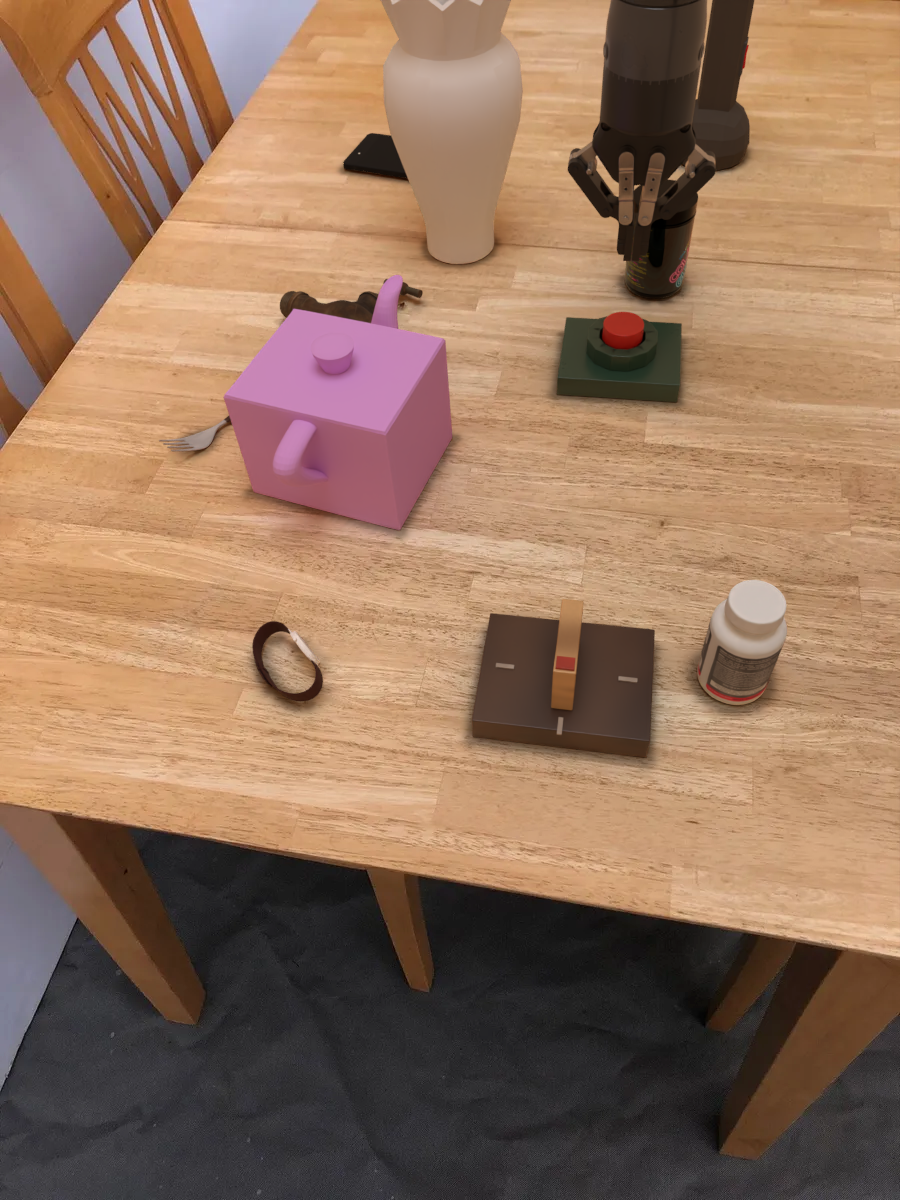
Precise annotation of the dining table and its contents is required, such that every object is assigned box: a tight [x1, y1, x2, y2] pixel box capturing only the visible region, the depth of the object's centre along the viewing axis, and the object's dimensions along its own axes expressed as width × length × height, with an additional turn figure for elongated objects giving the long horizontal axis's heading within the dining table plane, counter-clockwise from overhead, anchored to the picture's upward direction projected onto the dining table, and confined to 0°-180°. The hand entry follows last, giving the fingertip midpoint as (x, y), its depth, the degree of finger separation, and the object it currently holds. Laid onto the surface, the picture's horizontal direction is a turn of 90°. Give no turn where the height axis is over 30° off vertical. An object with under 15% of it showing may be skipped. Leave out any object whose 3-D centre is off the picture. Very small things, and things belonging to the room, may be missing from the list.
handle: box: [551, 598, 585, 710], centre depth 68 cm, size 6×2×5 cm, turn 170°
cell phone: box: [342, 132, 408, 180], centre depth 123 cm, size 9×18×1 cm, turn 68°
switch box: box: [556, 315, 683, 403], centre depth 94 cm, size 12×10×4 cm
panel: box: [471, 612, 656, 758], centre depth 71 cm, size 13×11×3 cm
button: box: [602, 311, 644, 350], centre depth 92 cm, size 4×4×2 cm
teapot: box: [223, 274, 453, 531], centre depth 84 cm, size 15×25×14 cm, turn 158°
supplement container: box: [623, 179, 699, 300], centre depth 100 cm, size 7×7×10 cm
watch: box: [251, 620, 324, 703], centre depth 73 cm, size 8×5×4 cm, turn 35°
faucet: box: [279, 278, 424, 323], centre depth 100 cm, size 5×17×15 cm
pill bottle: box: [696, 579, 788, 706], centre depth 68 cm, size 5×5×10 cm
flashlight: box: [681, 0, 755, 171], centre depth 111 cm, size 10×25×10 cm
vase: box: [380, 0, 524, 265], centre depth 100 cm, size 15×15×29 cm
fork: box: [158, 415, 231, 453], centre depth 93 cm, size 3×16×2 cm, turn 135°
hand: (631, 256), depth 86 cm, fingers closed
